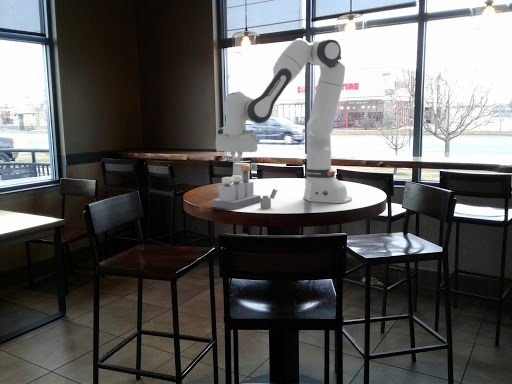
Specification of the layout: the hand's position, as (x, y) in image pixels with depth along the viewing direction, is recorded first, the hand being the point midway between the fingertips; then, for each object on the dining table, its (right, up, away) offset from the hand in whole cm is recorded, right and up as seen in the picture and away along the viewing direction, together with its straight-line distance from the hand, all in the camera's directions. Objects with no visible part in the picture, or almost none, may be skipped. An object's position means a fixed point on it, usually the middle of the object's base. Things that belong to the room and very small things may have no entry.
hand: (236, 162), depth 194 cm
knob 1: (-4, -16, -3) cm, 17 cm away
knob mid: (0, -15, +2) cm, 15 cm away
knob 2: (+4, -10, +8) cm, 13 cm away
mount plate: (0, -19, +3) cm, 19 cm away
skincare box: (+1, -13, +40) cm, 42 cm away
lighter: (+14, -20, -5) cm, 25 cm away
